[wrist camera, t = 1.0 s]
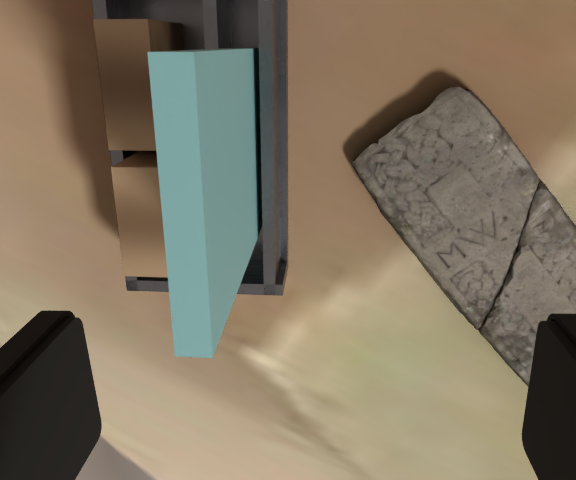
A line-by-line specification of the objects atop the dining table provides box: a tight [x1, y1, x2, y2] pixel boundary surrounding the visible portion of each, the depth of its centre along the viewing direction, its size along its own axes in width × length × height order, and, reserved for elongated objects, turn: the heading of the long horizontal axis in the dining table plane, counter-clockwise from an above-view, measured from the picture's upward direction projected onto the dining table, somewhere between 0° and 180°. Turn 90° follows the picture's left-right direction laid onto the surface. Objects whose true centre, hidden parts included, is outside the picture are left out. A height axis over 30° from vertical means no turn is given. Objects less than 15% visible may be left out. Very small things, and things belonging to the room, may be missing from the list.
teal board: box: [147, 48, 262, 358], centre depth 28 cm, size 12×2×18 cm, turn 0°
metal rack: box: [92, 0, 288, 295], centre depth 36 cm, size 20×11×5 cm, turn 0°
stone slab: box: [352, 87, 576, 386], centre depth 39 cm, size 10×3×30 cm
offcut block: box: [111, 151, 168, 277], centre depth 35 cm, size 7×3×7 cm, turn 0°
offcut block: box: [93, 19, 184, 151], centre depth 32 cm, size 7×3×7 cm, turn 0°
